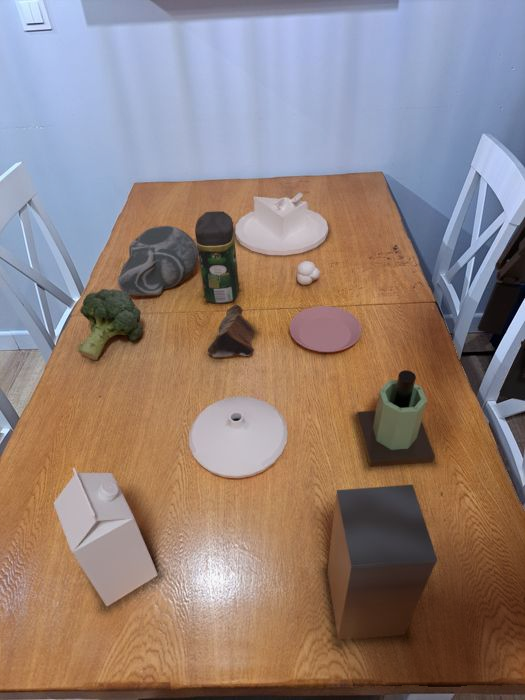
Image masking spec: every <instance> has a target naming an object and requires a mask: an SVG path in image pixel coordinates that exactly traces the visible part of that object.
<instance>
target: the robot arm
mask: <svg viewBox="0 0 525 700" xmlns="http://www.w3.org/2000/svg"><path fill="white" fill-rule="evenodd" d="M494 267H495V270H496V271H497V273H496V281H497V282H495V284H494V286H493V289H492V291H491V293H490V297H489V299H488V301H487V303H486V306H485V308H484V311H483V313H482V316H481V318H480V320H479V322H478V326H477V330H478V331H479V332H482V333H490V334H493V335H499V336H500V335H501V334H502V332H503V330H504V327H505V326H506V323H507V321H508V319H509V316H510V314H511V311H513V308H514V305H515V303H516V300H517V298H518V296H519V294H520V291H521V287H520V285H522V286H525V217H523V220H522V221H521V223H520V225H519V226H518V227H517V229H516V230H515V232H514V234H513V235H512V237H511V239H510V240H509V242H508V243H507V245H506V246H505V248H504V249H503V252H502V253H501V254H500V256H499V258H498V259H497V261H496V262H495V264H494ZM516 284H517V285H516ZM499 394H500V397H503V398H507V399H513V400H518V401H523V402H525V340H524V339H523V340H521V341H520V347H519V350H518V352H517V354H516V356H515V358H514V361H513V363H512V365H511V366H510V369H509V371H508V373H507V374H506V377H505V379H504V382H503V383H502V385H501V388H500V390H499Z"/></svg>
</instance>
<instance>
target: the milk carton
mask: <svg viewBox="0 0 525 700" xmlns="http://www.w3.org/2000/svg"><path fill="white" fill-rule="evenodd" d="M71 469H72V471H73V474H74V475H73V476H72V477H71V478H70V480H69V481H68V483H67V484H66V485H65V486H64V488H63V489H62V491H61V492H60V493H59V495H58V496H57V497H56V499H55V500H54V501H53V506H54V509H55V512H56V514H57V517H58V519H59V522H60V525H61V528H62V530H63V533H64V537H65V539H66V541H67V544H68V547H69V549H70V551H71V553H72V555H73V557H74V558H75V560H76V561H77V563H78V564H79V566H80V567H81V569H82V570H83V572H84V574H85V575H86V577H87V579H88V580H89V581H90V583H91V585H92V587H93V588H94V589H95V591H96V592H97V594H98V595H99V597H100V598H101V600H102V602H103V603H104V605H105V606H106V607H109V606H111V605H113V604H114V603H115V602H117V601H119V600H121V599H122V598H124V597H125V596H127V595H128V594H130V593H132V592H133V591H135V590H137V589H138V588H140V587H142V586H143V585H144V584H146V583H148V582H149V581H151V580H153V579H155V578H156V577H157V576H158V572H157V569H156V566H155V564H154V561H153V560H152V557H151V554H150V552H149V550H148V547H147V545H146V543H145V540H144V538H143V535H142V533H141V531H140V528H139V526H138V523H137V521H136V518H135V517H134V514H133V512H132V510H131V508H130V505H129V504H128V502H127V500H126V498H125V496H124V493H123V492H122V490H121V487H120V485H119V484H118V481H117V480H116V478H115V476H114V475H113V474H112V473H111V472H77V471H76V468H75V467H72V468H71Z"/></svg>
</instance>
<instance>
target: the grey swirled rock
mask: <svg viewBox="0 0 525 700" xmlns="http://www.w3.org/2000/svg"><path fill="white" fill-rule="evenodd" d="M128 256H129V258H128V259H127V261H126V262H124V263H123V265H122V267H121V270H120V273H119V275H118V276H117V284H118V288H119V290H120V291H126V292H127V293H128V294H129V295H130V296H159V295H161V294H162V293H163V291H164V289H171V288H174V287H176V286H178V285H180V284H181V283H183V282H184V281H185V280H187V279H188V278H189V277H190V276H191V275H192V273H193V272H194V271H195V269H196V267H197V265H198V262H199V254H198V248H197V242H196V241H195V240H194V239H193V237H191V235H190V234H188V233H187V232H185V231H184V230H182V229H181V228H179V227H176V226H173V225H159V226H158V225H157V226H153V227H150V228H148V229H145V230H144V231H142V232H141V233H140V235H138V236H137V237H136V238H135V239H134V240H132V241H131V242H130V244H129V245H128Z"/></svg>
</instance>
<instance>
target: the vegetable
mask: <svg viewBox="0 0 525 700" xmlns="http://www.w3.org/2000/svg"><path fill="white" fill-rule="evenodd" d="M79 311H80V314H81V315H83V317H84V318H86V319H87V321H89V322H91V325H90V328H89V330H90V334H89V335H88V336H87V338H86V339H85V340H84V342H82V343H80V344H79V345H77V349H78V350H77V352H78V354H80V355H81V356H84V357H86V358H88V359H90V360H92V361H98V359H99V357H100V356H101V355H102V351H103V349H104V347H105V344H106V342H107V341H108V340H109V339H111V338H113V337H114V336H117V335H122V336H126V337H127V338H128V339H129V341H130V342H135V341H136V340H137V339H139V338H140V337H141V335H142V334H143V330H144V327H143V324H142V323H141V310H140V309H139V308H138V307H137V306H136V304H135V302H134V300H133V299H132V297H131V294H128V293H127V292H126V291H122V290H121V289H115V288H112V289H107V288H101V289H100V290H99V291H97V292H96V291H95V292H90V293H88V294H86V296H85V297H84V299H83V301H82V306H81V307H80V309H79Z"/></svg>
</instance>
